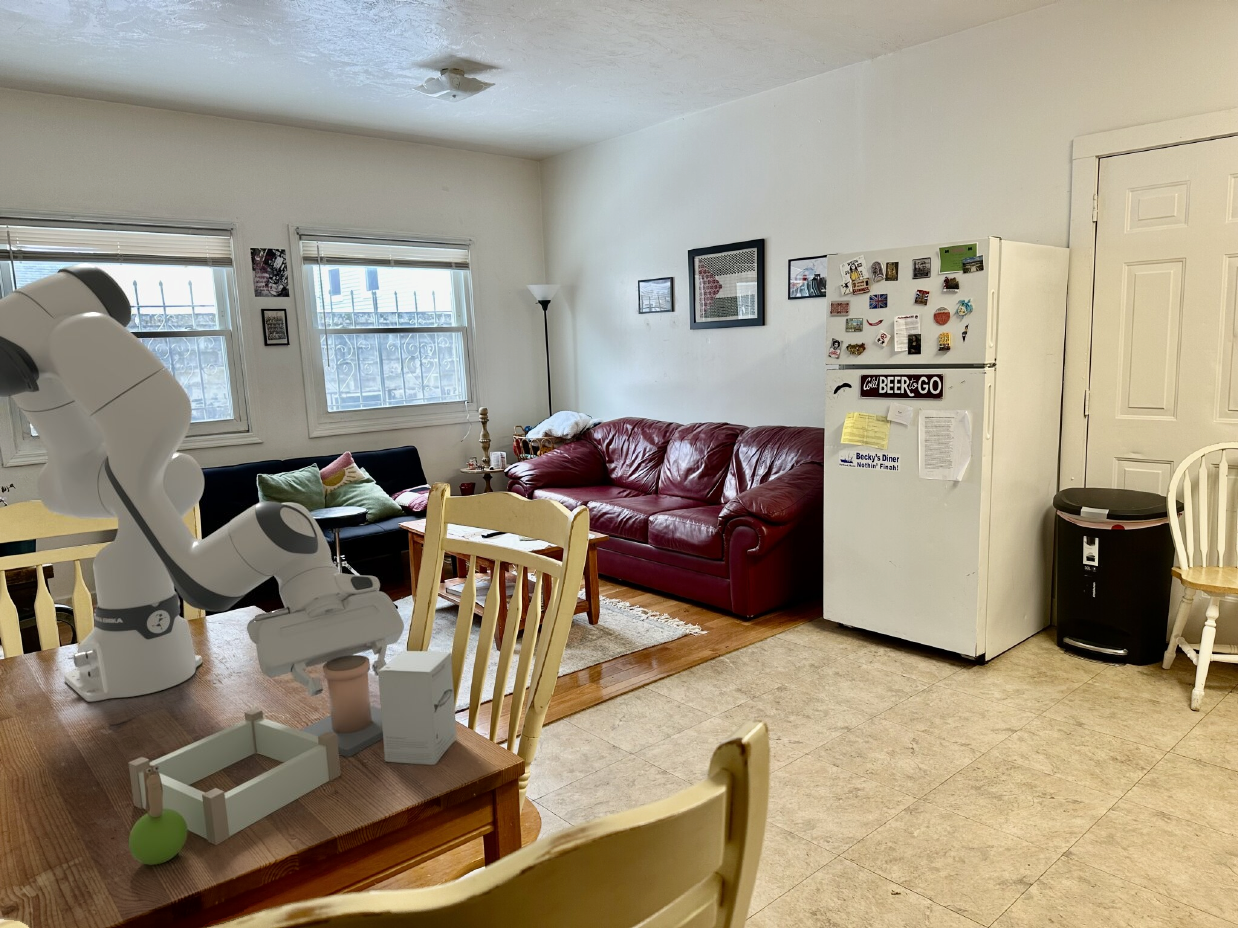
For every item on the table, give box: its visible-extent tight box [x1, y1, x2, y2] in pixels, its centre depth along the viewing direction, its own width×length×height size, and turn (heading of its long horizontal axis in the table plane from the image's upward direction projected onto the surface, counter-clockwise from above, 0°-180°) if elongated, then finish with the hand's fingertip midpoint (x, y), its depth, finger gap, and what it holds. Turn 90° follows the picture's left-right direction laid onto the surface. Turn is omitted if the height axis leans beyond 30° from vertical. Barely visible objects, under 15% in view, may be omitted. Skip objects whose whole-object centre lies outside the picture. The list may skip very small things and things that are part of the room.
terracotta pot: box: [322, 654, 372, 733], centre depth 115 cm, size 6×6×9 cm
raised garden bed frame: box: [128, 707, 342, 846], centre depth 101 cm, size 17×17×6 cm
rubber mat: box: [299, 705, 383, 758], centre depth 116 cm, size 11×11×1 cm
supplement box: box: [377, 650, 458, 766], centre depth 109 cm, size 7×7×13 cm
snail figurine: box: [128, 765, 188, 865], centre depth 87 cm, size 5×6×12 cm
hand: (350, 682), depth 115 cm, fingers open, 8 cm apart
